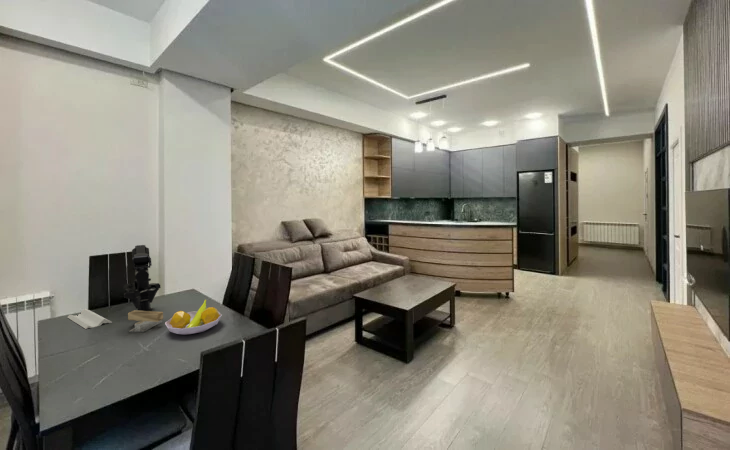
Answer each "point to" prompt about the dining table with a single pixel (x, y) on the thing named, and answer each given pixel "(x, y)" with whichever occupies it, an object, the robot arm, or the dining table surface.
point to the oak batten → (145, 316)
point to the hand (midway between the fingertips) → (144, 305)
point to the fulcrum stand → (144, 326)
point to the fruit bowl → (193, 320)
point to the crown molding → (88, 319)
